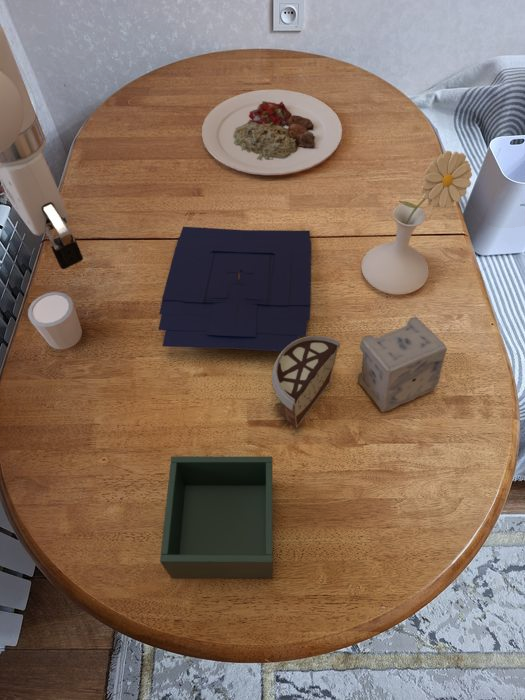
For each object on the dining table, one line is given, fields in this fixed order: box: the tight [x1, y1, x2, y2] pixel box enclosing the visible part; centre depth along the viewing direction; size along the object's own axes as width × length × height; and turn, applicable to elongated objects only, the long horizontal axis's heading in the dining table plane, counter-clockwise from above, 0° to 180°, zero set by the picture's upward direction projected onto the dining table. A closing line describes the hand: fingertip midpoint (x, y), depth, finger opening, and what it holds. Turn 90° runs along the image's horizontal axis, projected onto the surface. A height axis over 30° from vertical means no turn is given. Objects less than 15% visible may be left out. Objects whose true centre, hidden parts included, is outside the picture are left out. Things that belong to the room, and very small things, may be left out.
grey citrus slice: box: [271, 335, 341, 429], centre depth 79 cm, size 12×6×10 cm, turn 145°
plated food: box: [201, 89, 343, 176], centre depth 118 cm, size 30×30×3 cm
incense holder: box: [357, 316, 448, 413], centre depth 79 cm, size 10×8×10 cm
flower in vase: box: [360, 150, 473, 295], centre depth 86 cm, size 13×11×25 cm
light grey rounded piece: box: [27, 291, 83, 350], centre depth 87 cm, size 7×7×7 cm
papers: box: [158, 226, 312, 352], centre depth 93 cm, size 24×30×4 cm
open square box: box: [159, 456, 274, 580], centre depth 68 cm, size 13×13×8 cm
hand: (56, 243), depth 77 cm, fingers open, 9 cm apart
